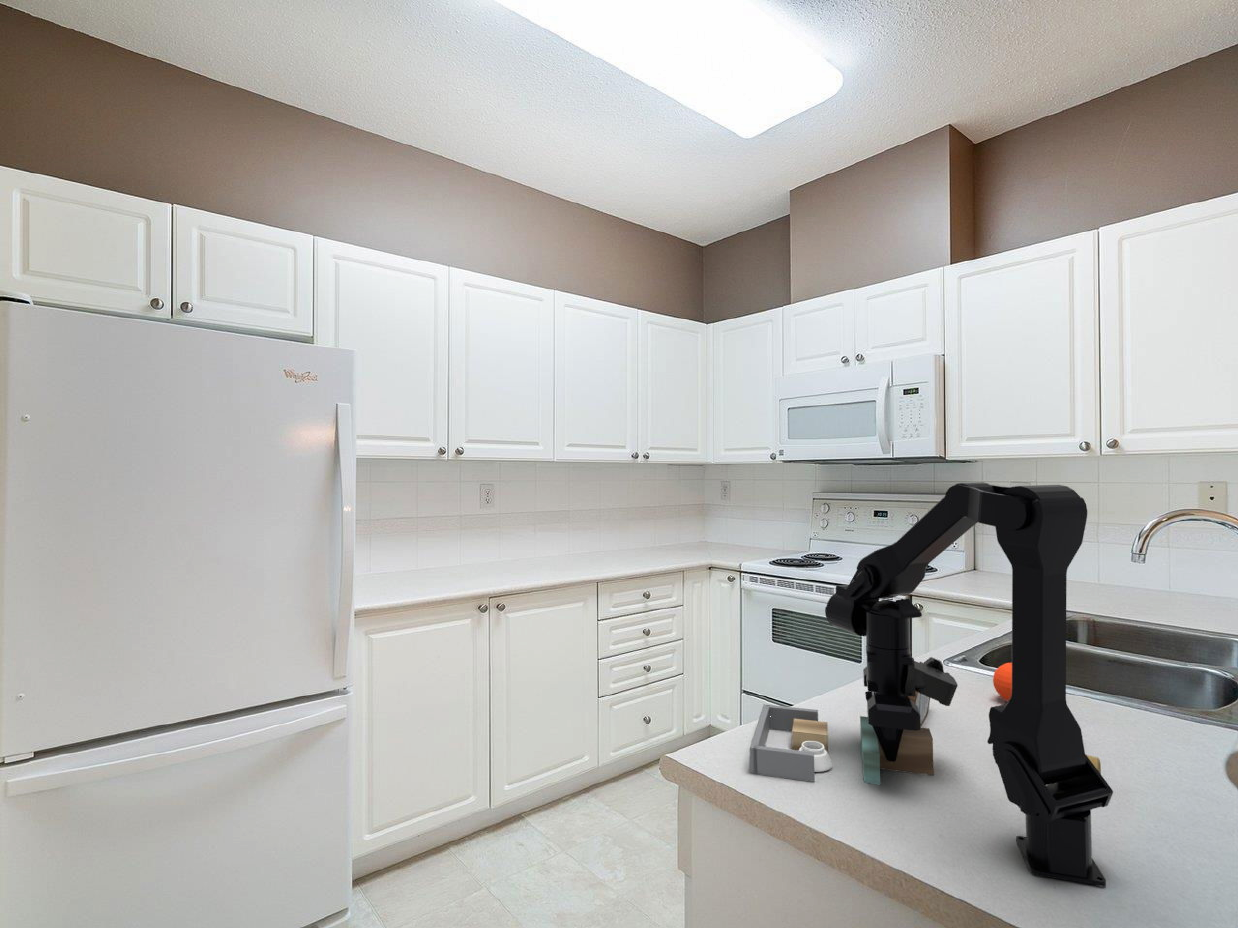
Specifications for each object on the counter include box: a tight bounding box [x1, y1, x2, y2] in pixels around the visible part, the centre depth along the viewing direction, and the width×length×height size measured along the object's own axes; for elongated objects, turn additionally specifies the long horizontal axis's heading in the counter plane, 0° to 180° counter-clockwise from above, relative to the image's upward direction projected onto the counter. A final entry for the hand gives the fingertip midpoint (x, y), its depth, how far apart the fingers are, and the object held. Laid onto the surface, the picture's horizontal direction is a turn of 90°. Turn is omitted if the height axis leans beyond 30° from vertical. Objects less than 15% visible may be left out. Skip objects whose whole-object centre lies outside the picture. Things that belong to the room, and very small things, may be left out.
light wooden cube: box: [791, 719, 829, 754], centre depth 96 cm, size 5×5×3 cm
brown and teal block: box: [859, 715, 935, 785], centre depth 89 cm, size 13×9×5 cm
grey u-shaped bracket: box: [749, 704, 819, 783], centre depth 94 cm, size 17×8×4 cm, turn 161°
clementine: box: [992, 662, 1012, 702], centre depth 111 cm, size 8×7×7 cm
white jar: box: [797, 741, 833, 773], centre depth 90 cm, size 5×3×5 cm
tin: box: [903, 691, 931, 726], centre depth 104 cm, size 15×3×8 cm, turn 145°
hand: (890, 754), depth 90 cm, fingers closed on brown and teal block, 3 cm apart
